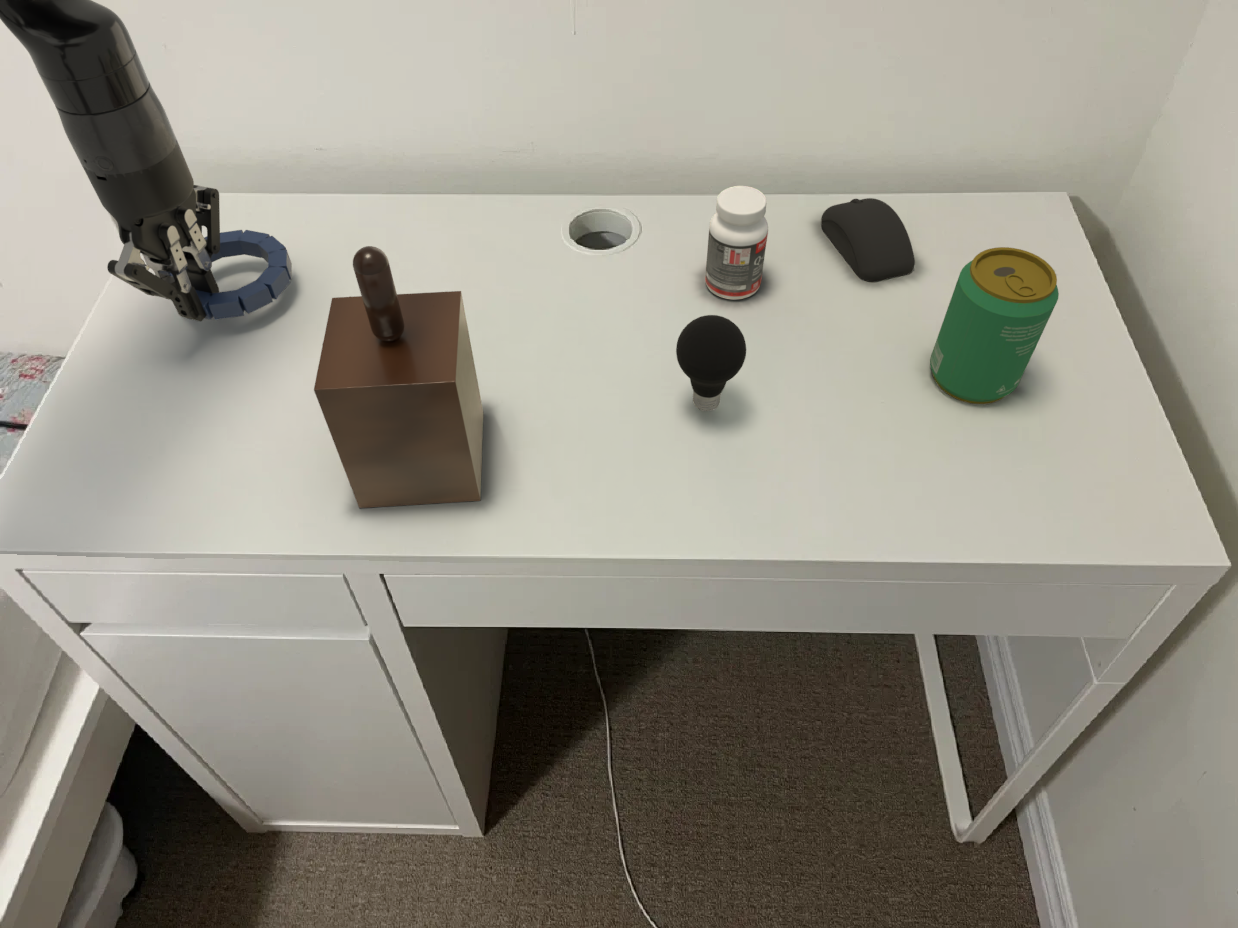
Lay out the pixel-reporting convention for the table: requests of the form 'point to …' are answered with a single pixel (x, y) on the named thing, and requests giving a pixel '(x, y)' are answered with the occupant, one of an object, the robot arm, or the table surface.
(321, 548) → the table surface
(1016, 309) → the beverage can
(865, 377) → the table surface
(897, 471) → the table surface
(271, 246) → the ring
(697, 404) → the light bulb
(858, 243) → the computer mouse
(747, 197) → the pill bottle
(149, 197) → the robot arm
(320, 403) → the stand
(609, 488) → the table surface
